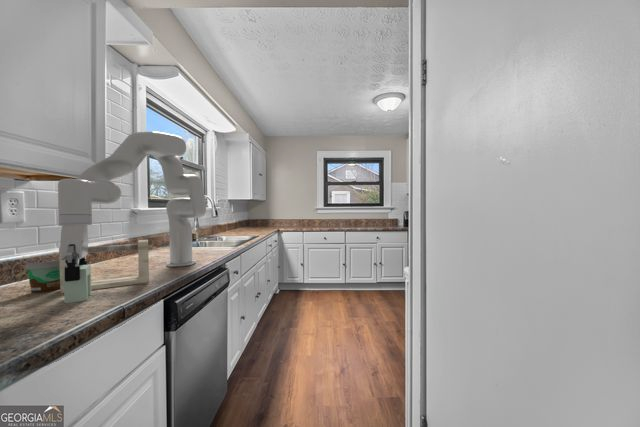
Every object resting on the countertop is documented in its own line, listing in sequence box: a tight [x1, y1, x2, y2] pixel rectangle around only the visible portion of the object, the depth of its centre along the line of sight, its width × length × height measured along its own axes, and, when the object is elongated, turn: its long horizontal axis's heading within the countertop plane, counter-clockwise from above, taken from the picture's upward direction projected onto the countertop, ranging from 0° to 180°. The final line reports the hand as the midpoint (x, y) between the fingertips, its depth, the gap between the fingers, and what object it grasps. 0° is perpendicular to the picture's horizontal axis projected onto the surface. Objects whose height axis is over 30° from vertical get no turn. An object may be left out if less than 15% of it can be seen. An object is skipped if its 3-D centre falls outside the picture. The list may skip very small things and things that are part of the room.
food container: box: [24, 259, 60, 294], centre depth 93 cm, size 12×6×10 cm, turn 168°
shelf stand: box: [58, 239, 150, 295], centre depth 96 cm, size 6×24×15 cm, turn 121°
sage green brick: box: [63, 264, 92, 304], centre depth 83 cm, size 7×5×10 cm
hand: (76, 277), depth 83 cm, fingers open, 9 cm apart
